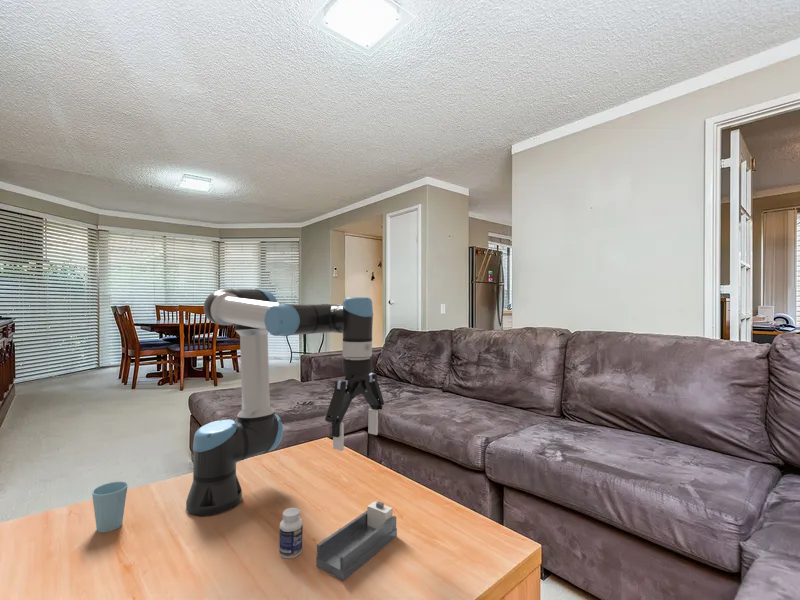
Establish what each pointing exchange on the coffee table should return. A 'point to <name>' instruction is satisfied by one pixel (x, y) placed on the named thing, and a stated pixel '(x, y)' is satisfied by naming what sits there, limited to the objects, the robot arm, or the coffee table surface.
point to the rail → (353, 546)
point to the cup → (109, 505)
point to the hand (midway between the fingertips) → (356, 441)
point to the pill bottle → (291, 533)
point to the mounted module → (378, 514)
